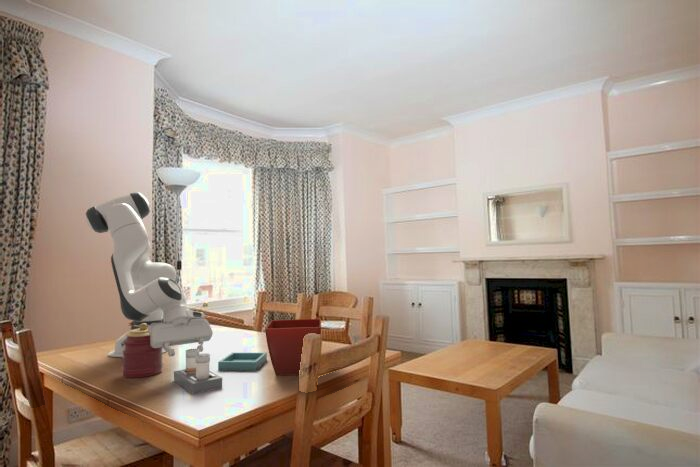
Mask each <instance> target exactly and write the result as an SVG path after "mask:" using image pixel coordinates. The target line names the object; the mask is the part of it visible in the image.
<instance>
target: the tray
mask: <svg viewBox="0 0 700 467" xmlns="http://www.w3.org/2000/svg"><path fill="white" fill-rule="evenodd" d="M267 361H268V352H231V353H229V354H227V355H226V356H225V357H223V358H222V359H220V360H219V361H218V362H217V364H218V365H217V371H242V372H243V371H254V372H256V371H258V370H259V368H261V366H263V364H265V363H266V362H267Z"/></svg>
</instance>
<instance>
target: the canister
mask: <svg viewBox="0 0 700 467" xmlns="http://www.w3.org/2000/svg"><path fill="white" fill-rule="evenodd" d="M147 327H148V326H147V324H146V323H142V324H140V326H139V328H138V329H133V330H130V329H129V330H130V332H128V331H127V332H128V333H126V332H125V333H126V334H125V333H124V334H125V336H127V337H126V339H125V340H123V344H124V350H123V351H122V352H123V357H122V367H121V373H122V377H124V378H129V379H134V378H135V379H137V378H145V377H151V376H154V375H158V374H160V373H161V372H162V371H163V366H164V365H163V364H164V363H163V353H162V349H163V347H160V348H153V347H151V344H150V334H149V333H148V329H147Z"/></svg>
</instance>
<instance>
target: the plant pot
mask: <svg viewBox="0 0 700 467" xmlns="http://www.w3.org/2000/svg"><path fill="white" fill-rule="evenodd" d="M264 331H265V338H266V344H267V350H268V354H269V357H270V363H271V365H272V368H273V371H274V374H275V375H276V376H291V375H292V376H294V375H295V376H296V375H299V370H300V362H301V354H302V347H303V338H304V336H305V335H306V334H308V333H316V334H321V333H322V319H321V318H309V319H308V318H301V319H298V318H297V319H295V318H294V319H275V320H274V319H273V320H270V322H268V324H267V325H266V326H265V327H264ZM321 335H322V334H321Z"/></svg>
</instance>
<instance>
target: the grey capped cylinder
mask: <svg viewBox="0 0 700 467" xmlns="http://www.w3.org/2000/svg"><path fill="white" fill-rule="evenodd" d="M198 354H200V352H199V349H197V348H189V349H186V350H185V369H186V373H187V375H188V374H193V373H196V355H198Z"/></svg>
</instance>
